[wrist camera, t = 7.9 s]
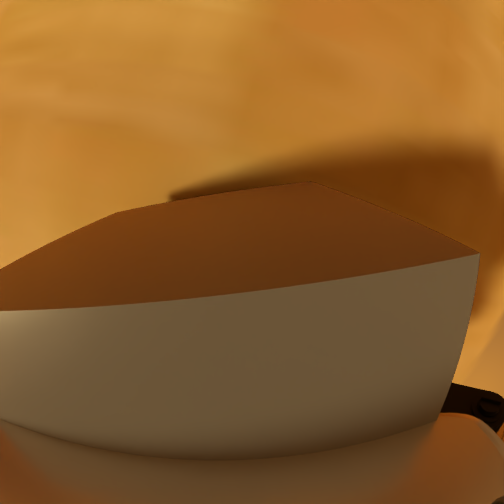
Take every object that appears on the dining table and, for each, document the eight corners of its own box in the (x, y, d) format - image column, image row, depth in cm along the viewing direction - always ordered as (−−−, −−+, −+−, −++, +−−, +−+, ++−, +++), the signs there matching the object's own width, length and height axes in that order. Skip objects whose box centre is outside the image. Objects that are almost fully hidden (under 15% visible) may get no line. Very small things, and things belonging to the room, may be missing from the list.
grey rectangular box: (116, 212, 11) (-67, 311, 2) (310, 181, 10) (481, 253, 2) (176, 402, 14) (139, 546, 5) (322, 389, 13) (359, 544, 5)
